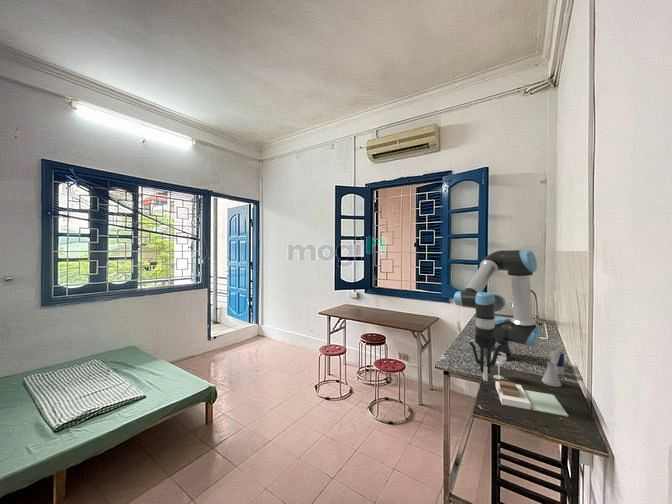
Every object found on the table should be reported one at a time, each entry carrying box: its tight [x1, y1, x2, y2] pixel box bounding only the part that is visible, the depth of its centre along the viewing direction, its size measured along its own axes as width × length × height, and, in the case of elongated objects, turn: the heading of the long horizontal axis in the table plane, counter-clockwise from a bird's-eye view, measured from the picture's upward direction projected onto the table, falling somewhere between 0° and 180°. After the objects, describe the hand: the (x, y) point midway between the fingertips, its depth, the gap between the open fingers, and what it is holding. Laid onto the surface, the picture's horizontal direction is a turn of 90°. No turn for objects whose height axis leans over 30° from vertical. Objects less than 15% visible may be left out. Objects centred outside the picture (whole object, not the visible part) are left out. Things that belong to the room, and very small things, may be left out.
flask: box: [541, 361, 563, 388], centre depth 127 cm, size 7×7×10 cm
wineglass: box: [490, 351, 508, 380], centre depth 134 cm, size 7×7×12 cm
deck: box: [495, 380, 532, 410], centre depth 116 cm, size 16×10×2 cm, turn 157°
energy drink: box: [550, 349, 565, 378], centre depth 136 cm, size 5×5×12 cm
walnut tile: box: [498, 380, 520, 398], centre depth 116 cm, size 9×6×2 cm, turn 157°
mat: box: [523, 389, 569, 418], centre depth 112 cm, size 16×12×1 cm
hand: (485, 379), depth 120 cm, fingers closed
